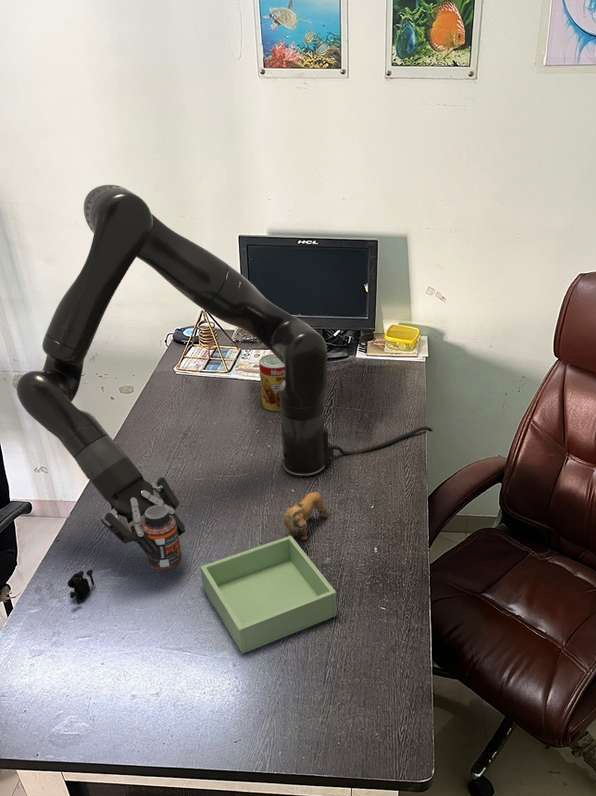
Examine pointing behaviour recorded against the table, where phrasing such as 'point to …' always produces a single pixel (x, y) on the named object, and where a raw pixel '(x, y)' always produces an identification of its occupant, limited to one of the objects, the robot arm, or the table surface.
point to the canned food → (271, 381)
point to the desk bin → (268, 593)
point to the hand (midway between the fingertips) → (169, 543)
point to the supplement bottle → (162, 537)
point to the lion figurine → (303, 513)
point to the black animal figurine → (80, 585)
